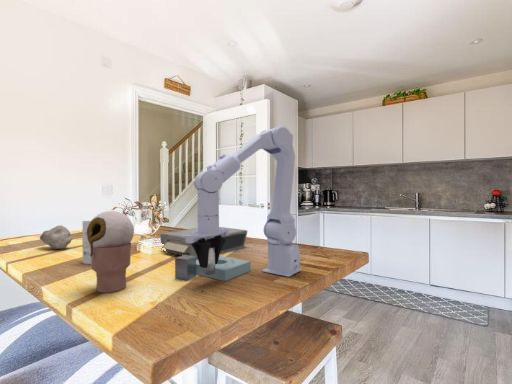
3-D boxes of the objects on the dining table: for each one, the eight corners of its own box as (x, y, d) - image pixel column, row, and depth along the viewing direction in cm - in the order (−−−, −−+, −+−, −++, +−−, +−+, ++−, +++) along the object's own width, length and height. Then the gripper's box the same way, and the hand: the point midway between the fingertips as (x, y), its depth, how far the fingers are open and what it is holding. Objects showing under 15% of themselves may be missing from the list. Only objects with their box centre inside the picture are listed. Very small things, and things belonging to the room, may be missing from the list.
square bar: (196, 276, 85) (196, 256, 85) (187, 280, 81) (186, 259, 81) (184, 274, 87) (184, 254, 87) (175, 278, 83) (175, 258, 83)
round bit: (217, 272, 79) (217, 246, 79) (209, 275, 76) (208, 249, 76) (208, 270, 81) (208, 245, 81) (199, 273, 78) (199, 247, 78)
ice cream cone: (77, 295, 70) (76, 212, 70) (103, 281, 81) (102, 209, 80) (121, 296, 69) (120, 213, 69) (141, 281, 80) (140, 209, 80)
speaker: (192, 262, 102) (248, 248, 126) (192, 240, 102) (247, 229, 126) (154, 253, 117) (210, 241, 141) (154, 233, 117) (210, 225, 140)
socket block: (250, 270, 91) (250, 261, 91) (225, 281, 81) (225, 270, 81) (214, 263, 99) (214, 255, 99) (188, 272, 89) (187, 262, 89)
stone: (59, 245, 131) (58, 223, 131) (76, 248, 124) (76, 225, 124) (36, 248, 124) (36, 225, 124) (53, 252, 117) (53, 227, 116)
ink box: (112, 262, 102) (112, 220, 101) (101, 265, 97) (100, 221, 97) (94, 260, 104) (93, 219, 104) (81, 263, 100) (81, 220, 99)
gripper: (215, 212, 87) (216, 257, 87) (177, 217, 75) (177, 269, 75) (234, 213, 83) (234, 261, 83) (196, 218, 71) (197, 274, 71)
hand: (208, 265), depth 79 cm, fingers closed on round bit, 3 cm apart
